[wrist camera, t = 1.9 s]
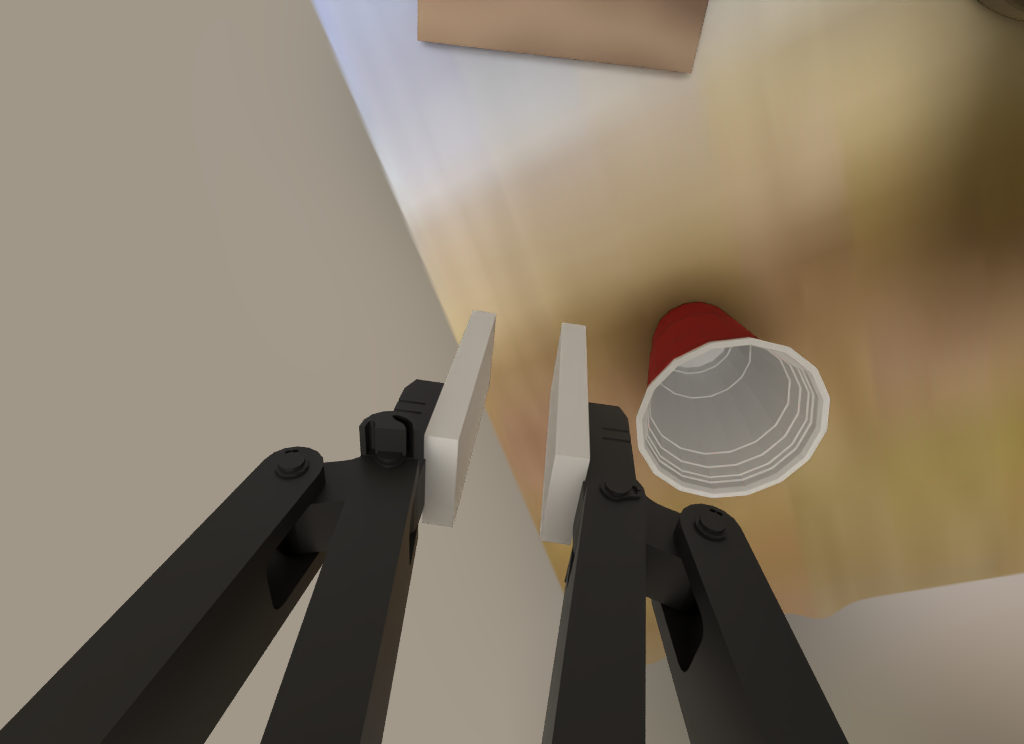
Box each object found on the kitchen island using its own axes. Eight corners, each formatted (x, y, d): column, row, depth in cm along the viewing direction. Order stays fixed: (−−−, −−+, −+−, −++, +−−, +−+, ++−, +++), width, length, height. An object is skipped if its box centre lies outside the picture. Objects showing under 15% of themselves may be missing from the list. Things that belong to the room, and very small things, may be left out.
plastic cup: (801, 303, 39) (881, 395, 29) (713, 412, 45) (754, 521, 35) (670, 239, 38) (705, 312, 28) (595, 360, 43) (601, 458, 33)
